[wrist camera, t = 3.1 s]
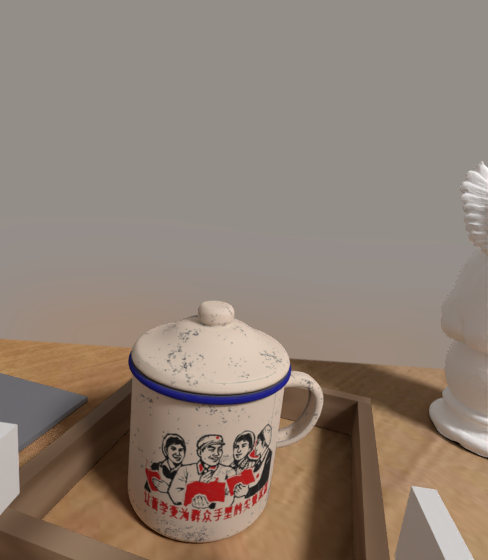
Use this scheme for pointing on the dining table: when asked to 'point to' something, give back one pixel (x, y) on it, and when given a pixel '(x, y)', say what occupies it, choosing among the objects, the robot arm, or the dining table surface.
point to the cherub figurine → (468, 331)
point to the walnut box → (116, 422)
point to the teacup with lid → (209, 423)
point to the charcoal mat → (34, 407)
